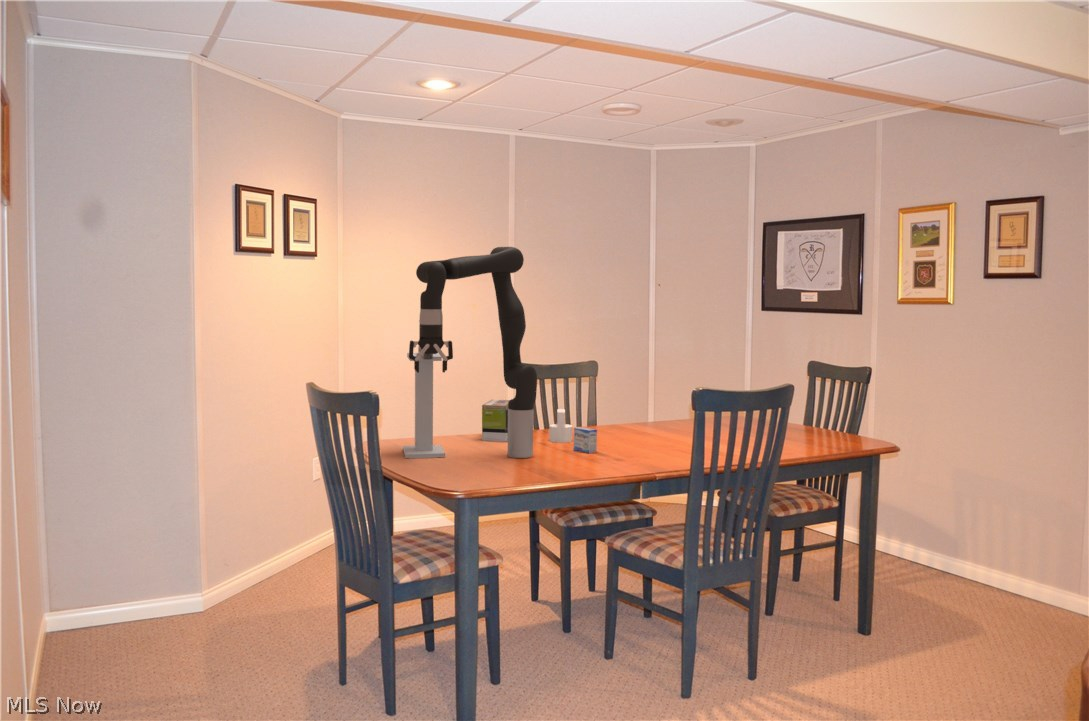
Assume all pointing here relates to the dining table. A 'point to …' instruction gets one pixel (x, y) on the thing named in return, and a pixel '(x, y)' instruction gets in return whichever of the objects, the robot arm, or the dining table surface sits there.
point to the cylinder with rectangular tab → (560, 429)
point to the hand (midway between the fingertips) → (430, 372)
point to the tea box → (495, 421)
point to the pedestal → (424, 412)
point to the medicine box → (585, 440)
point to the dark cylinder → (426, 355)
